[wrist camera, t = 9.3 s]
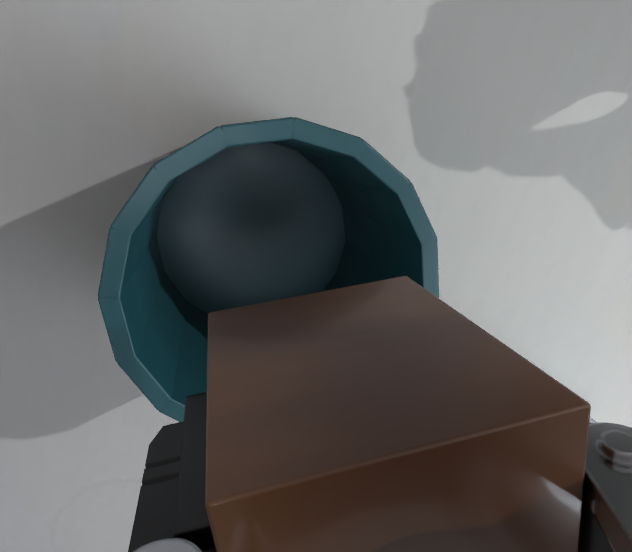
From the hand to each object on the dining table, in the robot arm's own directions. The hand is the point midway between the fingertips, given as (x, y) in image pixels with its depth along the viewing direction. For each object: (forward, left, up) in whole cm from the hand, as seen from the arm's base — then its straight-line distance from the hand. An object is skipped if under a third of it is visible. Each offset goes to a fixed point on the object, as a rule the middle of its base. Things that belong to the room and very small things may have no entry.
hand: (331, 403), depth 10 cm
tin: (0, 0, -19) cm, 19 cm away
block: (0, 0, -1) cm, 1 cm away
